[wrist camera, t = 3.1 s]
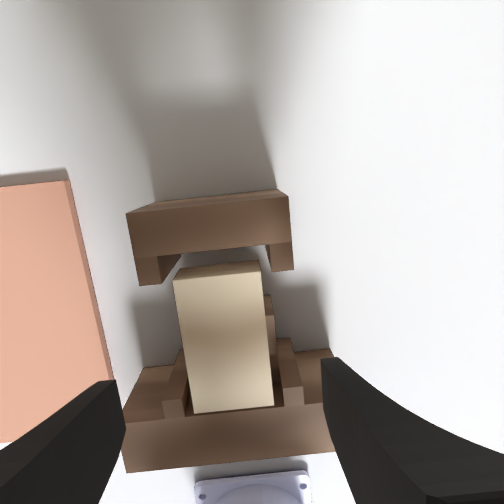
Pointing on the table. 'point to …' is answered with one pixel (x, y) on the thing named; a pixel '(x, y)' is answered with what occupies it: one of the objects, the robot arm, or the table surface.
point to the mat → (44, 308)
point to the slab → (224, 336)
